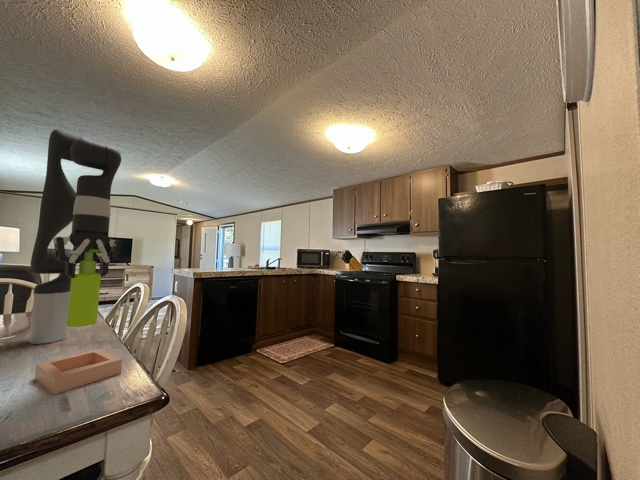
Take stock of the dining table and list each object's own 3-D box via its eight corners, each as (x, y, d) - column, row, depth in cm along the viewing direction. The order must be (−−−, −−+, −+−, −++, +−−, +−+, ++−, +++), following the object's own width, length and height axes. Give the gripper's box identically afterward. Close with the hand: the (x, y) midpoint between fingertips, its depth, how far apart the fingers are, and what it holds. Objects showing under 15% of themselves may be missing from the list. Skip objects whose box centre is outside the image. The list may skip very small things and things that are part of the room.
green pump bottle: (81, 328, 65) (89, 248, 66) (60, 325, 66) (68, 248, 67) (105, 322, 70) (112, 249, 72) (85, 320, 72) (92, 249, 73)
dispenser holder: (34, 378, 65) (36, 363, 65) (98, 361, 76) (99, 348, 77) (53, 394, 58) (55, 378, 58) (121, 372, 69) (121, 359, 69)
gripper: (117, 219, 78) (112, 274, 77) (50, 211, 66) (44, 277, 65) (129, 217, 74) (124, 276, 73) (60, 209, 62) (54, 279, 61)
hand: (87, 276), depth 69 cm, fingers closed on green pump bottle, 6 cm apart
